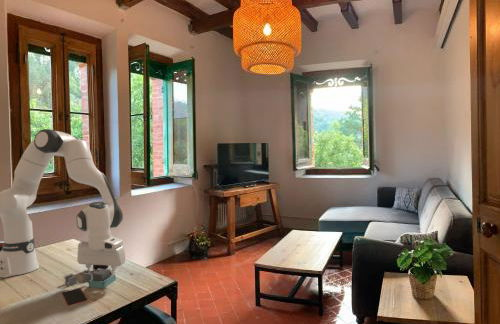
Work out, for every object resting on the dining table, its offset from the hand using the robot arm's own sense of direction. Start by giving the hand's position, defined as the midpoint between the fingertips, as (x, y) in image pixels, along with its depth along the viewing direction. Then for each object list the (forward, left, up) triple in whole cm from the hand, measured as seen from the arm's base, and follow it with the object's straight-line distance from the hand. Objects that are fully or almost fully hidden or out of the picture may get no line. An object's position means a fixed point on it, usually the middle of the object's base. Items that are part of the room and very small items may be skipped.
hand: (102, 274), depth 145 cm
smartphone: (-3, -13, -4) cm, 14 cm away
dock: (0, 0, -4) cm, 4 cm away
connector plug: (0, +2, -3) cm, 4 cm away
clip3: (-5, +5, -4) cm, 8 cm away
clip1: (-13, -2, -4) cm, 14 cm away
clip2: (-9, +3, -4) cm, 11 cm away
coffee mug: (-10, +15, -4) cm, 19 cm away
